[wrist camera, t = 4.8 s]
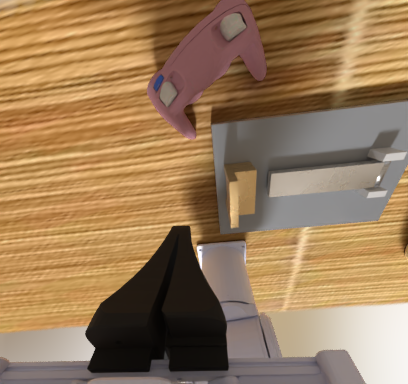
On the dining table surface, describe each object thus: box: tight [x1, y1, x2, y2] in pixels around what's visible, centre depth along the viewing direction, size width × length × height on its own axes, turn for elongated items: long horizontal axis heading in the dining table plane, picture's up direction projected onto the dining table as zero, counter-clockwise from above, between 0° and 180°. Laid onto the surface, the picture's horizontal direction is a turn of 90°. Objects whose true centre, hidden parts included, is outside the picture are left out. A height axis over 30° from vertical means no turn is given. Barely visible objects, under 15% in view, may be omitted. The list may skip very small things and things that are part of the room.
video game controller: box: [147, 0, 267, 139], centre depth 14 cm, size 10×5×7 cm, turn 129°
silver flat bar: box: [267, 160, 391, 197], centre depth 18 cm, size 3×12×1 cm, turn 96°
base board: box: [211, 99, 408, 234], centre depth 19 cm, size 15×22×3 cm
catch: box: [224, 162, 257, 228], centre depth 18 cm, size 5×3×4 cm, turn 6°
